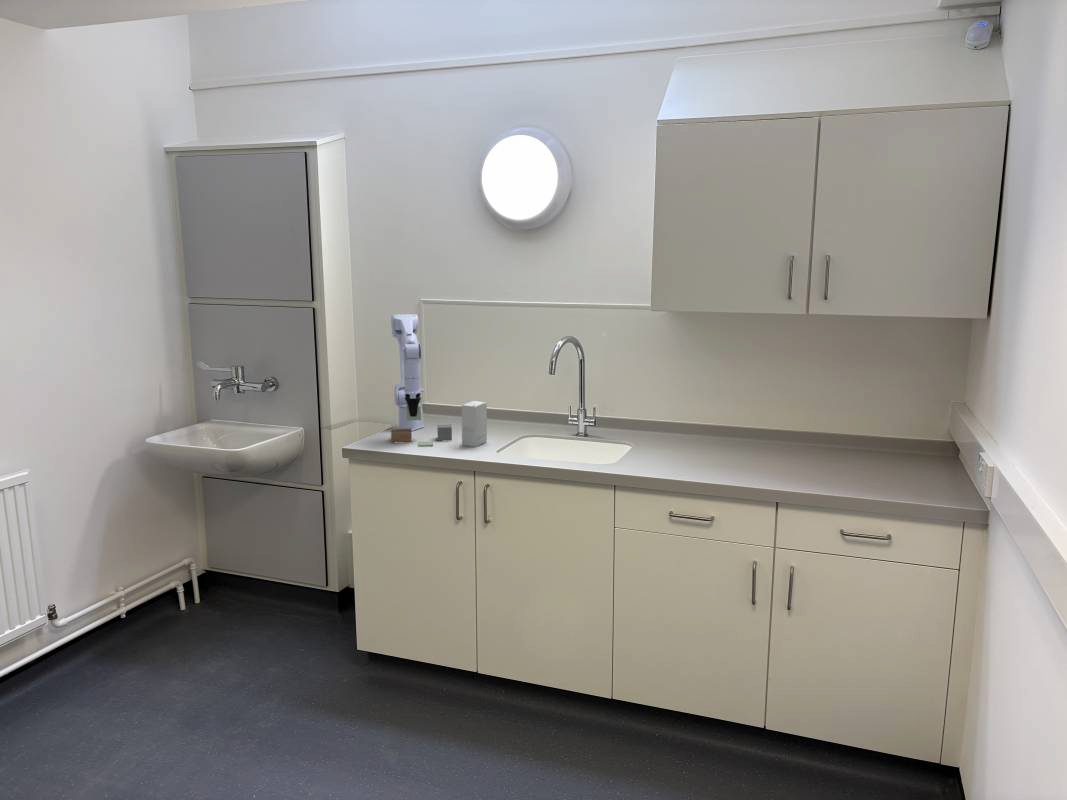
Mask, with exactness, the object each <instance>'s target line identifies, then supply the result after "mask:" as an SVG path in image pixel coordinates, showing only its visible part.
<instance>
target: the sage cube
mask: <svg viewBox="0 0 1067 800" xmlns="http://www.w3.org/2000/svg"><path fill="white" fill-rule="evenodd" d="M421 405H422V404H421V403H420V404H418V410H417V416H414V417H411V416H410V413H409V408H408V404H407V421H413V420H421V408H422V406H421Z"/></svg>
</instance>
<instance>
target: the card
mask: <svg viewBox="0 0 1067 800" xmlns="http://www.w3.org/2000/svg"><path fill="white" fill-rule="evenodd" d="M419 446H420V447H433V446H434V441H433V440H432V441H418V447H419Z"/></svg>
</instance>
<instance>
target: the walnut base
mask: <svg viewBox="0 0 1067 800" xmlns="http://www.w3.org/2000/svg"><path fill="white" fill-rule="evenodd" d="M412 438H413V437H412V431H411V428H399V429H395V428H391V432H390V440H391V441H390V443H391V444H396V443H395V442H411V443H412V440H411V439H412Z"/></svg>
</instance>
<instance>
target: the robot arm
mask: <svg viewBox="0 0 1067 800" xmlns="http://www.w3.org/2000/svg"><path fill="white" fill-rule="evenodd" d="M390 323H391V333H392V337H393V338H395V339H396V340H397V342H398V345H399V347H398V349H399V362H400V363H399V364H400V379H401V380H400V381H398V383H396V384H395V386H394V404H395V405H396V406H398V425H399V426H397V427H394V429H399V428H411V432H413V431H417V430H419V429H422V428H425V426H426V425H424V416H423V415H424V413H423V408H422V407H421V420H413V421H407V404H408V408H409V413H410V416H411V417H414V416H417V410H418V404H421V403H422V393H423V392H424V393H425V389H424V388H422V386H421V382H422V381H421V359H422V347H421V343H420V342H419V341H418V337H417V335H418V329H419V316H418V315H417V314H416V313H413V314H406V313H405V314H402V313H401V314H395V313H392V315H391V316H390Z"/></svg>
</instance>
